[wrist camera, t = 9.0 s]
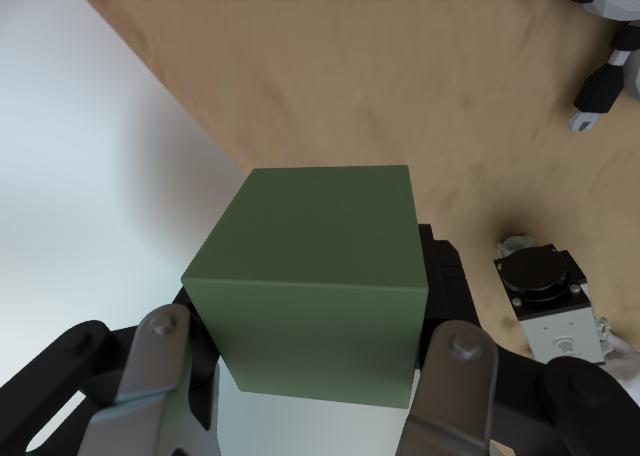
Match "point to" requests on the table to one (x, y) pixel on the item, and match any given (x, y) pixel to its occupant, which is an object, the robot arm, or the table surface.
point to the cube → (316, 284)
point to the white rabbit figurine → (622, 365)
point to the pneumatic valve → (551, 301)
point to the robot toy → (611, 64)
